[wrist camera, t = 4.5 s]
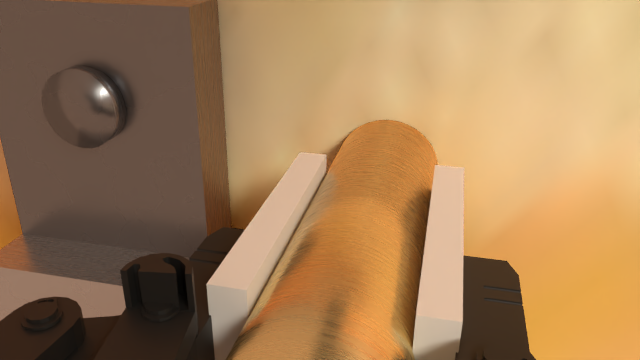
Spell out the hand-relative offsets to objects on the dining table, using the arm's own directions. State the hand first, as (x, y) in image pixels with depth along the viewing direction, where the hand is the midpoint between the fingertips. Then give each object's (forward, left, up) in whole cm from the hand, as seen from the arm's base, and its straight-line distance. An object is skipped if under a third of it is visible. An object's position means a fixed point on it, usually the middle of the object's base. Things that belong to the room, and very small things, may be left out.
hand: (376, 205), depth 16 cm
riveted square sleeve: (+7, -9, -3) cm, 12 cm away
